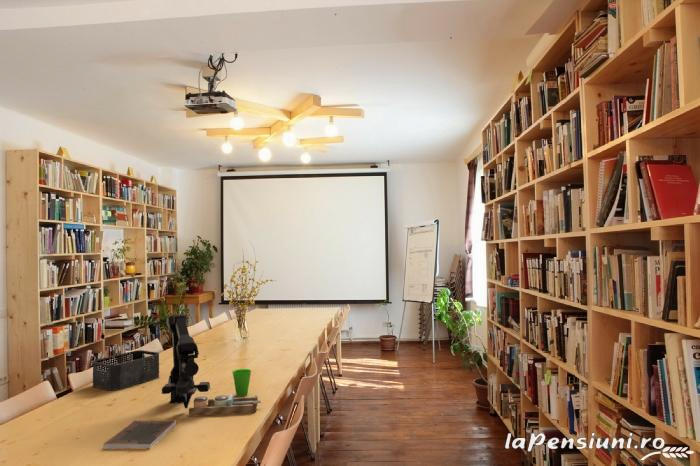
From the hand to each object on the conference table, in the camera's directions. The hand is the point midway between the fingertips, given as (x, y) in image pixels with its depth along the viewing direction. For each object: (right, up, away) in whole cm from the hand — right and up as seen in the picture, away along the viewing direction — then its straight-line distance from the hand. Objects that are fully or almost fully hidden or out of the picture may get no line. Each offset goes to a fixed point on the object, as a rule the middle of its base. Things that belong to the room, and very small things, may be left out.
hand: (186, 408), depth 192 cm
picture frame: (-7, -1, -25) cm, 26 cm away
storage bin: (-48, -5, +47) cm, 67 cm away
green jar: (+14, -2, +2) cm, 15 cm away
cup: (+18, -3, +23) cm, 29 cm away
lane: (+16, -1, +2) cm, 16 cm away
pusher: (+24, -1, +3) cm, 25 cm away
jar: (+6, -2, +1) cm, 6 cm away
